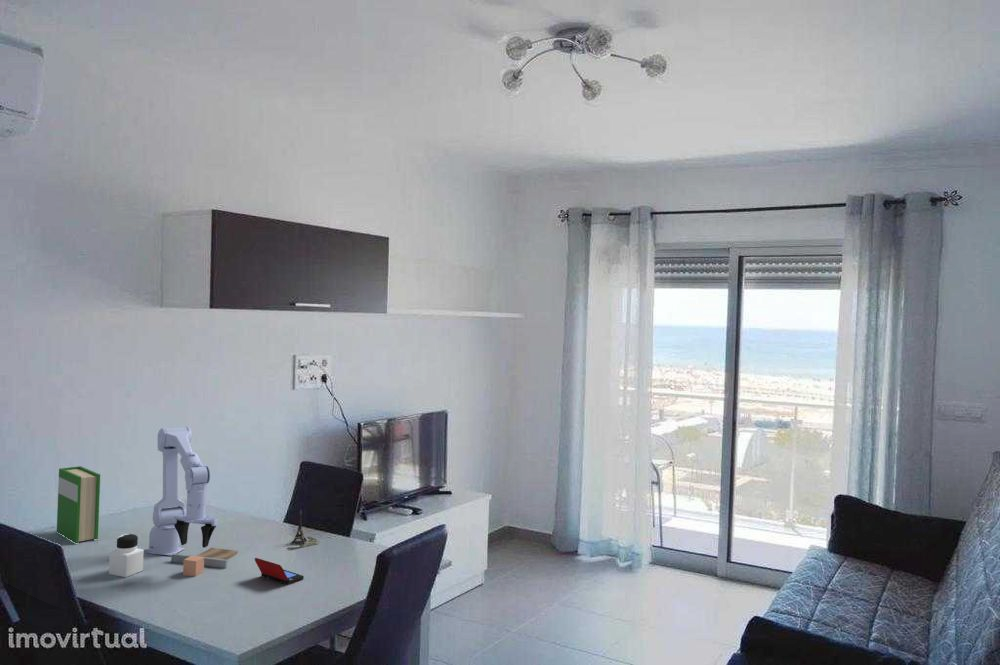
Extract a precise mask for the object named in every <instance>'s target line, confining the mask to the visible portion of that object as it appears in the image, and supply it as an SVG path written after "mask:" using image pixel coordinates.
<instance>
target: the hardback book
mask: <svg viewBox="0 0 1000 665" xmlns="http://www.w3.org/2000/svg"><path fill="white" fill-rule="evenodd" d="M57 487H58V489H57V514H56V517H57V518H56V533H57V532H58V533H60V534H62V535H64V536H65V537H67V538H68V539H70V540H72V541H73V542H75V543H78V542H83V541H84V542H85V541H90V540H93V539H98V540H99V523H100V522H99V521H100V520H99V518H100V515H99V514H100V493H101V492H100V491H101V474H100V473H98V472H95V471H93V470H91V469H88V468H86V467H83V466H82V465H79V466H78V465H77V466H71V467H62V468H61V467H60V468H58V486H57Z"/></svg>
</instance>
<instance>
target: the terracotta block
mask: <svg viewBox="0 0 1000 665" xmlns="http://www.w3.org/2000/svg"><path fill="white" fill-rule="evenodd" d="M182 564H183V565H182V567H183V568H182V576H189V577H198V576H199V575H201V574H203V573H205V570H204V569H205V566H204V557H200V556H197V555H191V556H190V557H188V558H186V559H184V562H183V563H182Z"/></svg>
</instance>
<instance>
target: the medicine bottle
mask: <svg viewBox="0 0 1000 665" xmlns="http://www.w3.org/2000/svg"><path fill="white" fill-rule="evenodd" d="M138 539H139V537H138V535H137V534H133V533H126V534H125V533H124V534H121V535H119V536H118V537H117V538H116V548H115V550H112V551H110V552H109V560H108V561H109V562H108V563H109V564H108V574H109V575H112V576H118V577H122V578H128V577H131V576H133V575H136V574H139V573H141V572H142V571H143V570H144V549H143V548H138V542H139V540H138Z"/></svg>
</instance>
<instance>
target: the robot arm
mask: <svg viewBox="0 0 1000 665" xmlns="http://www.w3.org/2000/svg"><path fill="white" fill-rule="evenodd" d="M192 438H193V434H192V429H191V428H190V427H189V426H185V427H182V426H181V427H169V428H168V427H166V428H164V427H163V428H160V429H159V431H158V432H157V450H158V451H159V452H160V453H162V498H161V499H160V500H159V501H158V502H157V503H155V504H154V506H153V513H152V522H153V527H152V528H151V529H150V532H149V537H148V539H149V540H148V551H147V554H154V555H162V556H169V557H170V556H171V557H172V554H173V553H174V554H179V553H180V552H182V551H184V550H185V549H186V548H185V547H181V546H184V545H187V544H188V532H189V527H190V524H198V525H202V526H201V527H200V529H201V535H202V539H201V540H202V541H201V542H202V544H201V546H202V548H207V547H208V546H209V544H210V541H211V536H212V535H213V532H214V531H215V529H216V527H217V526H218V524H219V523H218V522H219V519H218V518H215V517H211V516H207V515H206V506H207V487H208V486H207V485H208V484H209V482H210V479H211V473H210V472H211V470H210V469H209V468H210V467H209V466H208V465H206V464H204V463H203V462H202V460H201V459H200V456H199V455H198V453H197V452H195V451H193V450H192V447H191V442H192ZM179 455H180V459H179ZM178 461H180V464H181V467H182V468H183V471H184V473H185V474H184V480H185V481H184V482H185V490H186V491H187V492H186V503H185V502H184V501H183V500H181V499H180V498H178V495H179V493H178V492H179V491H178V489H179V488H178V487H179V486H178V485H179V480H178V477H179V475H178V474H179V471H178V469H179V467H178V466H179V465H178V464H179V462H178ZM180 545H181V546H180Z"/></svg>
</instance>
